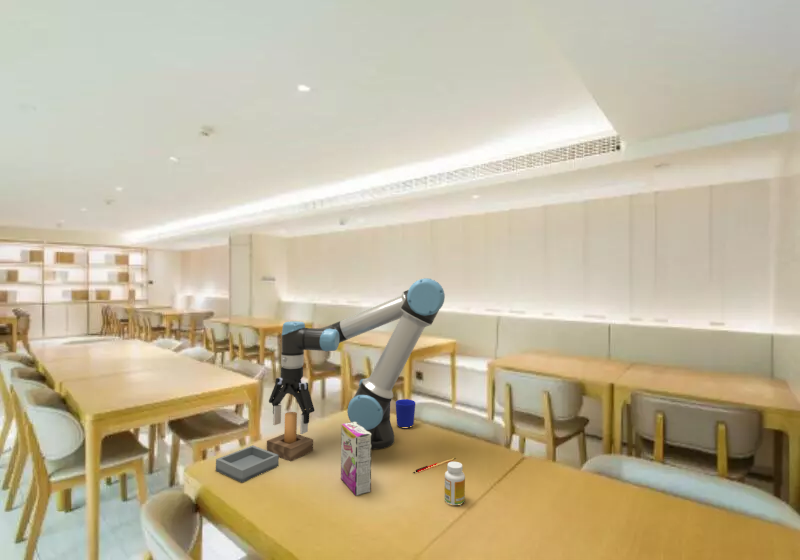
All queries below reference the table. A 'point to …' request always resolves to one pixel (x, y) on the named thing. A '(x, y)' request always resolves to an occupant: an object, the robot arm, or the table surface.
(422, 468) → the pen
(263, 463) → the tray
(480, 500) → the table surface
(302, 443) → the hitch block
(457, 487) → the supplement bottle
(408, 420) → the mug
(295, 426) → the pin
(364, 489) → the candy bar box
